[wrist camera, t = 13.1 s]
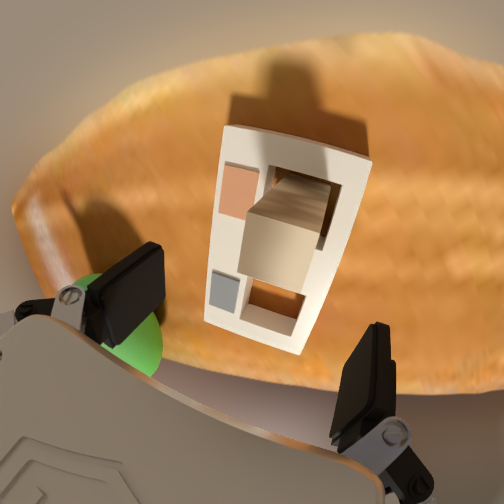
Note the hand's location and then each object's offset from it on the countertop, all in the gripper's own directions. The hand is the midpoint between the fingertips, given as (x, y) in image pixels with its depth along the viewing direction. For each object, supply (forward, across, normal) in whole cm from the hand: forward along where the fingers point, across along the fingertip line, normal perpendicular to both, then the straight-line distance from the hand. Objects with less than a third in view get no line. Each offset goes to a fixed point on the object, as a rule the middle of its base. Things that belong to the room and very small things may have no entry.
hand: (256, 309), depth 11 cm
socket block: (+16, +2, +6) cm, 17 cm away
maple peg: (+16, +1, 0) cm, 16 cm away
